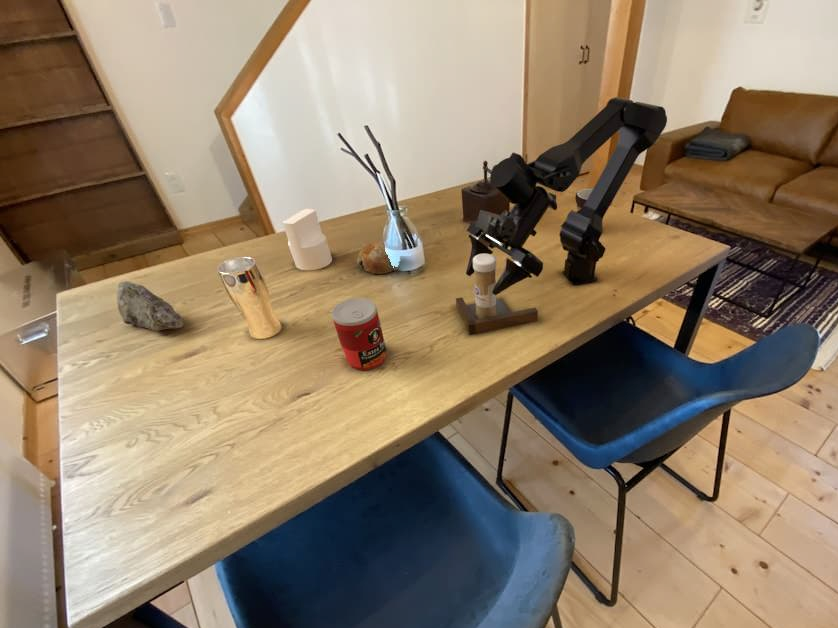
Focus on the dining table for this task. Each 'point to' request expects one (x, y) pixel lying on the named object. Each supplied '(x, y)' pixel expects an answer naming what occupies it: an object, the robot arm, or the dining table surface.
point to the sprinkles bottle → (485, 285)
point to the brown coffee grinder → (482, 198)
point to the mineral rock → (145, 308)
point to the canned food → (360, 333)
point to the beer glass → (249, 295)
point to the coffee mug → (582, 197)
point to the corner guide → (493, 317)
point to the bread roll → (375, 259)
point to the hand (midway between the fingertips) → (480, 284)
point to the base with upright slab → (307, 241)
